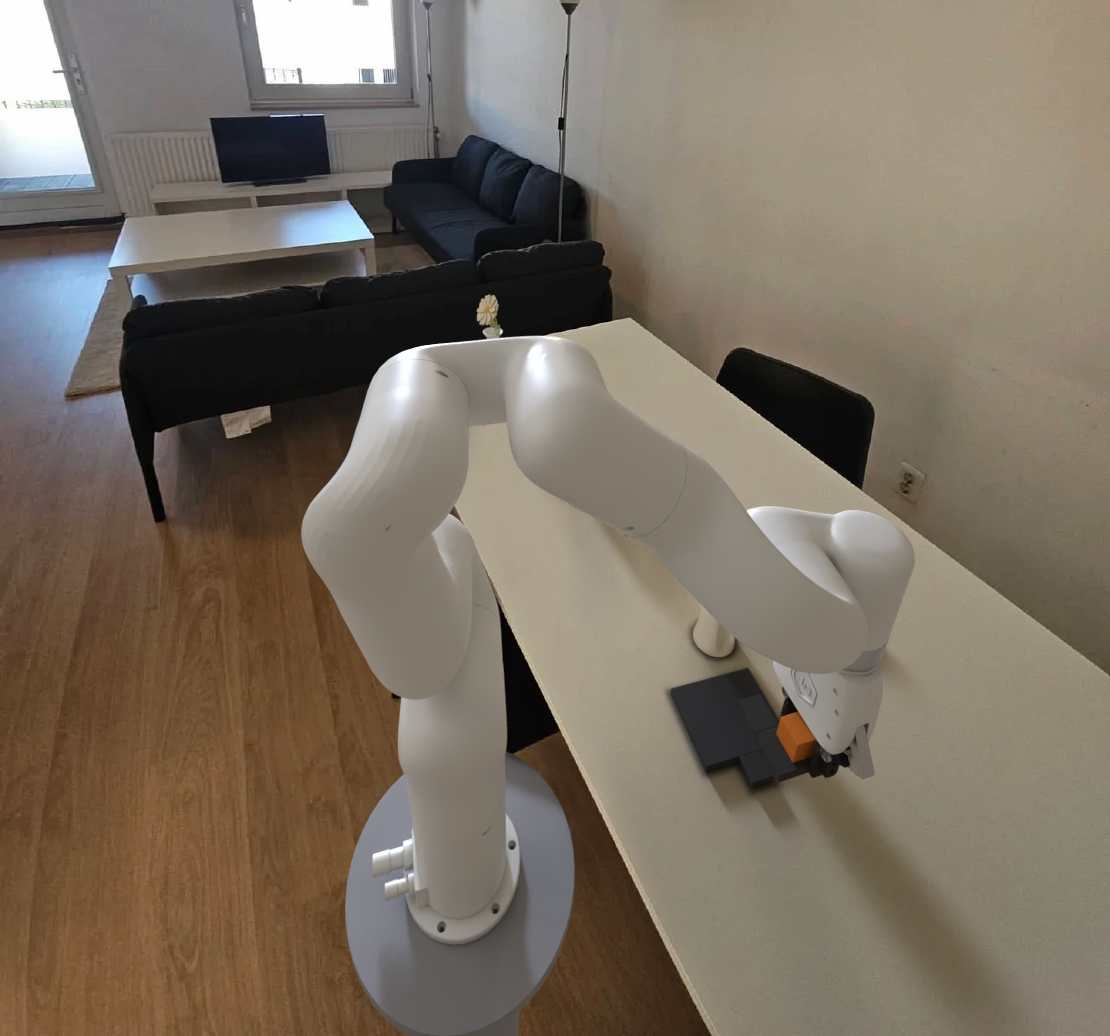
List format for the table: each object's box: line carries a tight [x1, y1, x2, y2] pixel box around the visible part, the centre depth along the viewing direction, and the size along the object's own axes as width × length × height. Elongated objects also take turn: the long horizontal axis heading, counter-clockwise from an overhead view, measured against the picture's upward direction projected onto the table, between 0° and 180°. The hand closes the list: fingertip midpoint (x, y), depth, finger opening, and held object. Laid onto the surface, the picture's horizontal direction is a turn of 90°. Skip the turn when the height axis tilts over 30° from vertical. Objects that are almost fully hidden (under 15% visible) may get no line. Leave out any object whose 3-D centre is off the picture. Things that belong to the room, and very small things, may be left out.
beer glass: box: [692, 601, 736, 658], centre depth 88 cm, size 7×7×15 cm
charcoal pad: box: [670, 667, 779, 789], centre depth 79 cm, size 12×13×1 cm
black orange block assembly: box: [738, 694, 820, 783], centre depth 67 cm, size 10×8×4 cm
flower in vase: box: [476, 294, 504, 340], centre depth 153 cm, size 13×11×25 cm
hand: (806, 744), depth 66 cm, fingers closed on black orange block assembly, 4 cm apart
